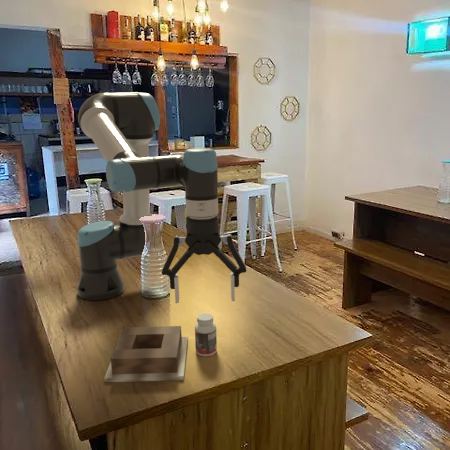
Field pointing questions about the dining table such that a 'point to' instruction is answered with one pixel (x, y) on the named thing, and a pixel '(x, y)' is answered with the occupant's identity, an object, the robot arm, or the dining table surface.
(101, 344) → the dining table surface
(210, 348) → the pill bottle
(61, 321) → the dining table surface
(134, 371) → the socket block
